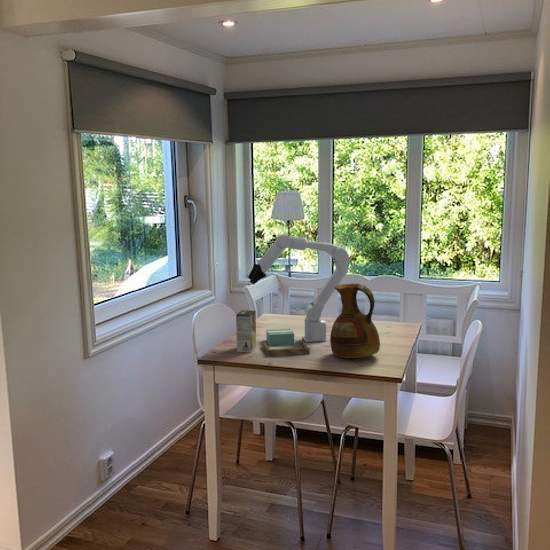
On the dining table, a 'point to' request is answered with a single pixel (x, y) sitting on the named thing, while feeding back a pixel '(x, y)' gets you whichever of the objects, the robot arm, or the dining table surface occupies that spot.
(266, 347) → the display stand
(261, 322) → the dining table surface
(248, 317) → the coffee box
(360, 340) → the ceramic pitcher
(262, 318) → the dining table surface
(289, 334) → the teal rectangular block
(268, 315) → the dining table surface
